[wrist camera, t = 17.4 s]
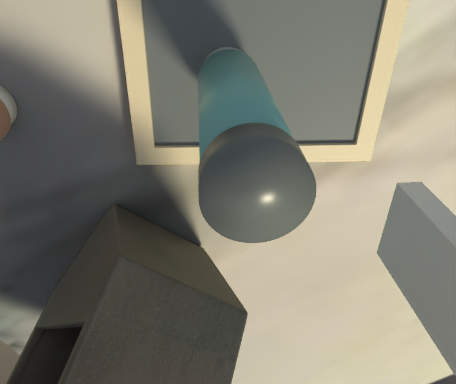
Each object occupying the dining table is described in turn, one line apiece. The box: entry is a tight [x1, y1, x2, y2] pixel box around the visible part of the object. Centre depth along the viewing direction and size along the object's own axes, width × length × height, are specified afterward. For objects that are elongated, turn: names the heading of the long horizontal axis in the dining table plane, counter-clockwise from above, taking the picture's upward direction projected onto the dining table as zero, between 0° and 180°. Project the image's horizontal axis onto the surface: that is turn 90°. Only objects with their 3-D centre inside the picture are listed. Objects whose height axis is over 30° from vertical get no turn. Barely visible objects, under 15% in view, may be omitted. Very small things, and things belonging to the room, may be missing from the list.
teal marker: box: [198, 47, 316, 243], centre depth 17 cm, size 4×4×13 cm
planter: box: [6, 204, 247, 384], centre depth 24 cm, size 17×8×21 cm
